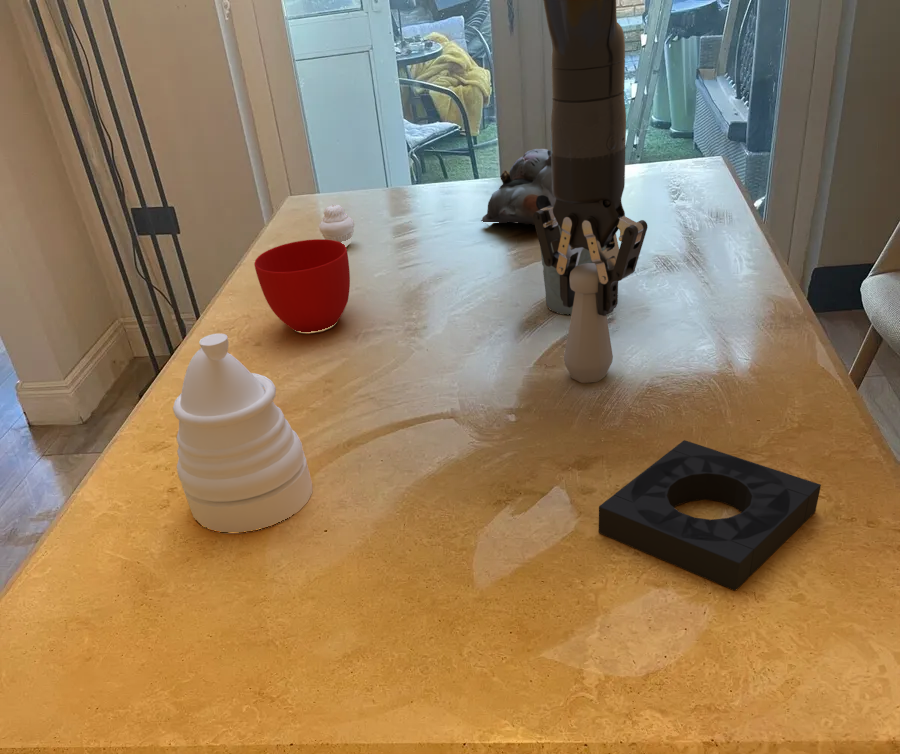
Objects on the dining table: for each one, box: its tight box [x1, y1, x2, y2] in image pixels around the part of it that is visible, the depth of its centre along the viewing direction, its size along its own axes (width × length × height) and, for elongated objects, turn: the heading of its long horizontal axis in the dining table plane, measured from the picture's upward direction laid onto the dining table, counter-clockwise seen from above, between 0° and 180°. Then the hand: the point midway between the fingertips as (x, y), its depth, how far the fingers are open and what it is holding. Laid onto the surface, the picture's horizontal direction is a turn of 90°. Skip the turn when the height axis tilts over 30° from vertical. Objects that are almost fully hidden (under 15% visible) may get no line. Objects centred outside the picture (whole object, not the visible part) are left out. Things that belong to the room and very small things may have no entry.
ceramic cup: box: [254, 238, 351, 332], centre depth 122 cm, size 13×17×10 cm
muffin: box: [318, 204, 355, 242], centre depth 147 cm, size 6×6×7 cm
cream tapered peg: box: [563, 263, 614, 384], centre depth 98 cm, size 6×6×13 cm
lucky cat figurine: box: [480, 148, 556, 226], centre depth 144 cm, size 15×12×14 cm
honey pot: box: [172, 332, 313, 532], centre depth 84 cm, size 13×13×18 cm
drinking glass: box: [540, 224, 609, 316], centre depth 116 cm, size 10×10×12 cm
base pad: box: [598, 439, 822, 591], centre depth 77 cm, size 14×14×3 cm
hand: (588, 308), depth 97 cm, fingers closed on cream tapered peg, 4 cm apart
